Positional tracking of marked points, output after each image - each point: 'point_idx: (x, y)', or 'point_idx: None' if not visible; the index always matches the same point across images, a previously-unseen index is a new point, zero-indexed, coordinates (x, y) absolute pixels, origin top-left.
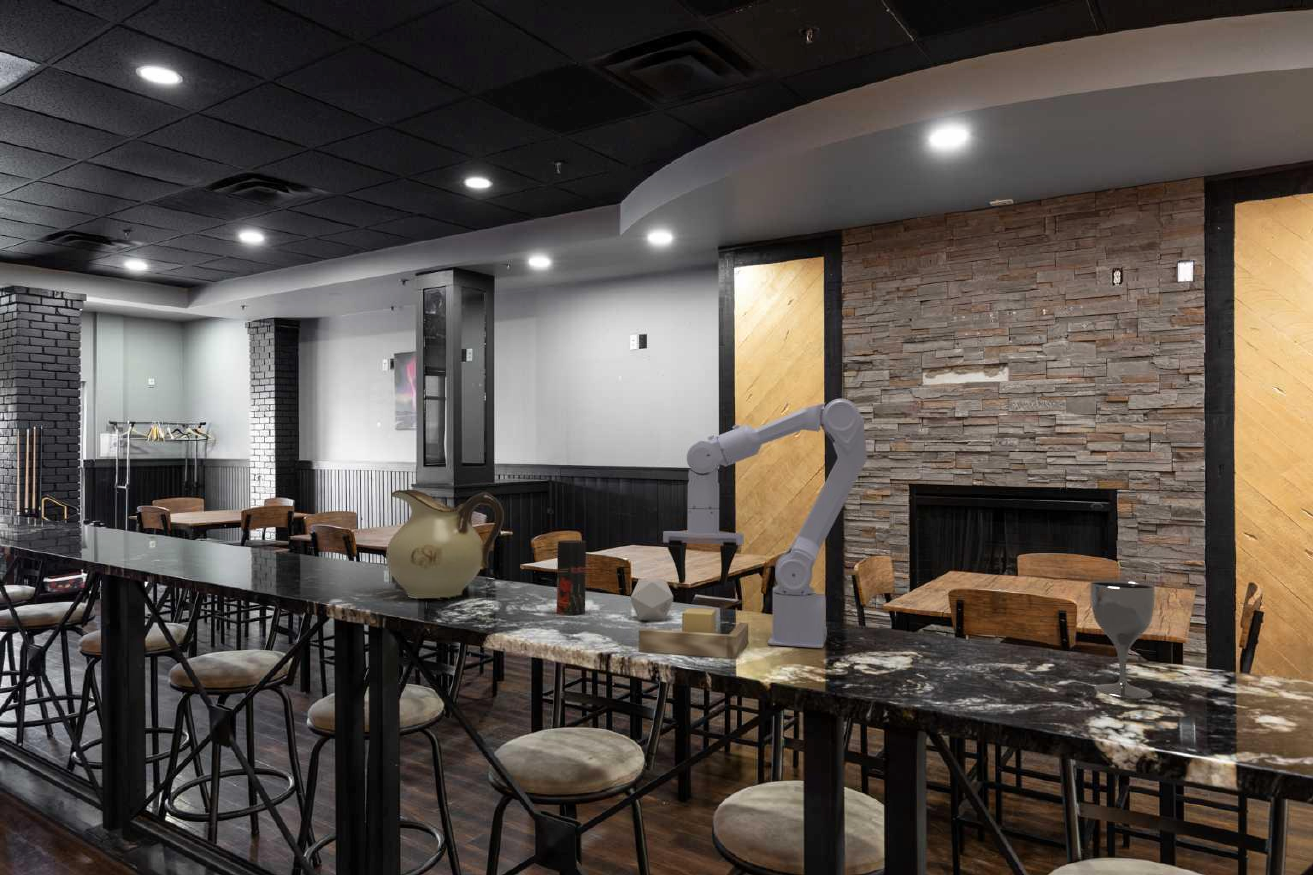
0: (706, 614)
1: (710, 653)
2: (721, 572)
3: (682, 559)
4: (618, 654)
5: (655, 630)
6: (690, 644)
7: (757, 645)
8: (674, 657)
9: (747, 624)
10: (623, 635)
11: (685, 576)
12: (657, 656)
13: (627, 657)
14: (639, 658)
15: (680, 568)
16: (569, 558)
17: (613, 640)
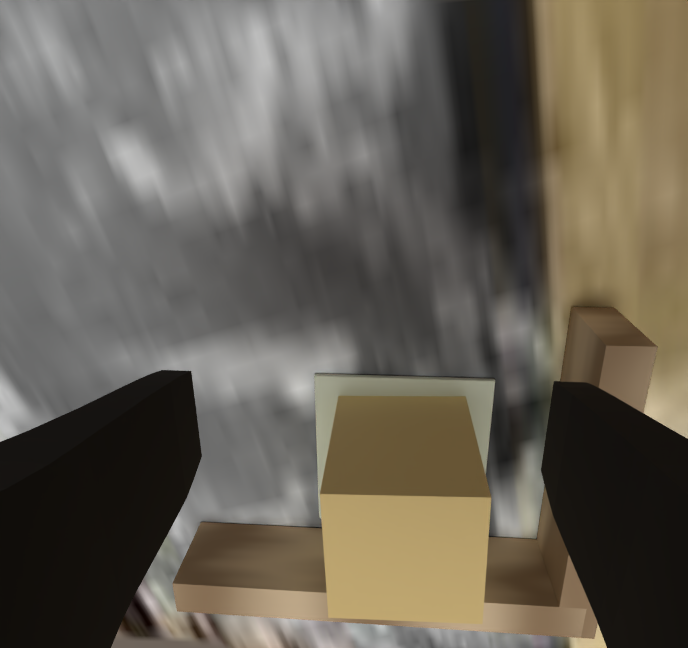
0: (456, 622)
1: None
2: (586, 582)
3: (81, 601)
4: (160, 591)
5: (239, 599)
6: None
7: (659, 339)
8: None
9: (650, 373)
10: (16, 307)
11: (170, 383)
12: None
13: (203, 617)
14: (244, 621)
15: (135, 575)
16: None
17: (33, 409)
